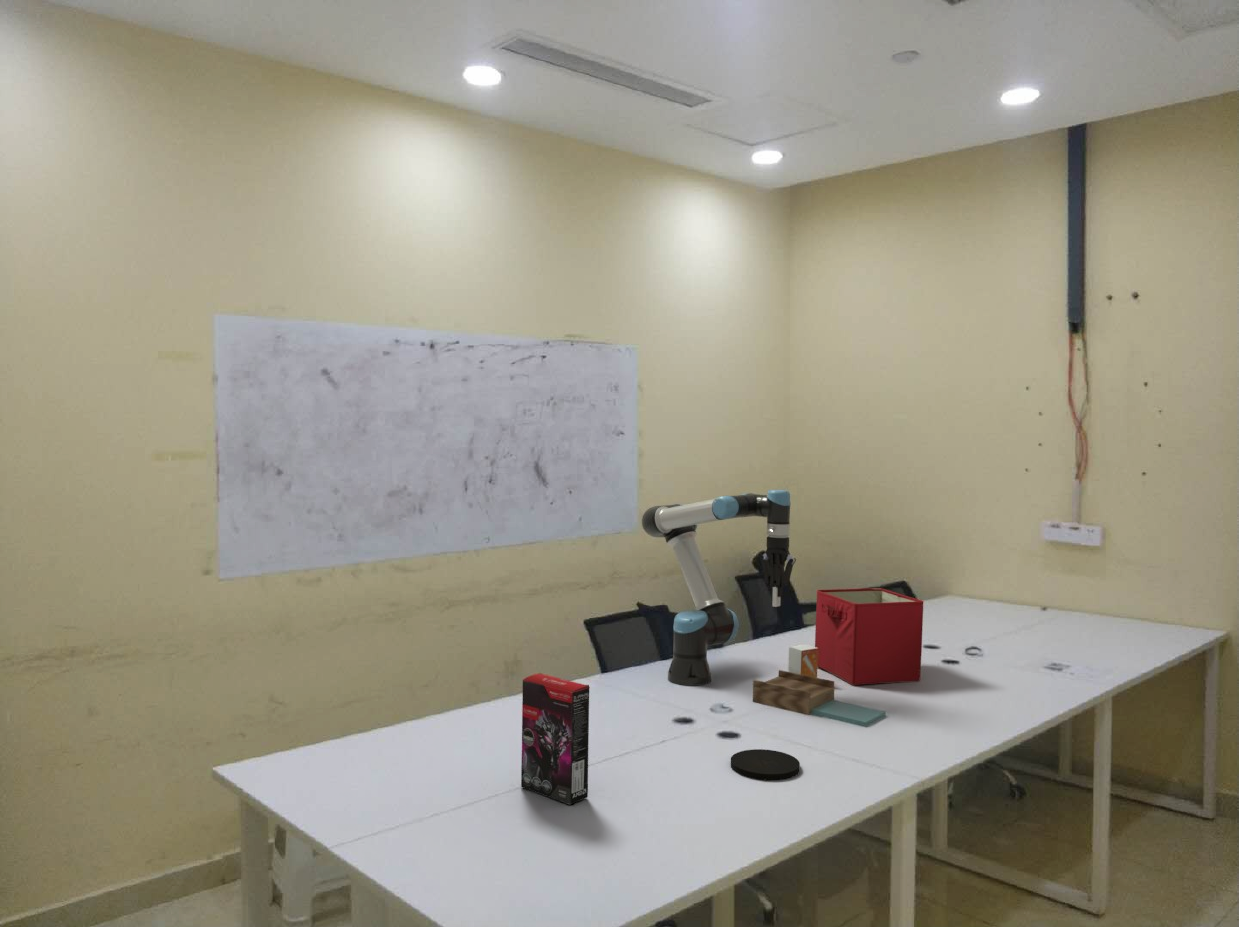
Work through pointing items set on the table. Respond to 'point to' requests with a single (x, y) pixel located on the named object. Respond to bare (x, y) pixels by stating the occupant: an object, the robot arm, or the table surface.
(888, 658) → the storage cube
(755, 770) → the wireless charger
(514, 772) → the table surface
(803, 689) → the walnut case
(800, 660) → the small box
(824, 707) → the cover plate
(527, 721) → the graphics card box
